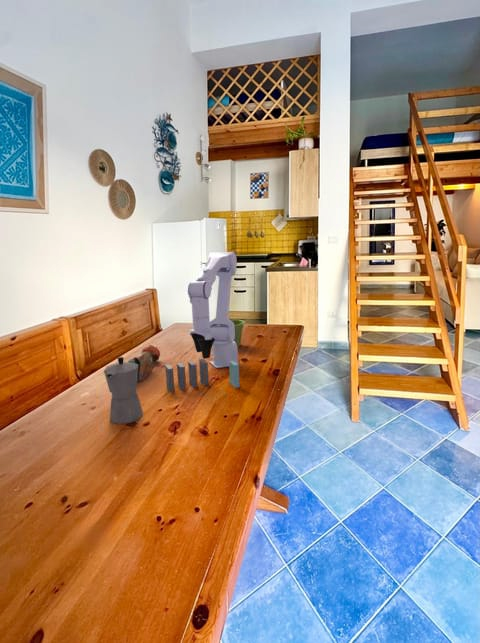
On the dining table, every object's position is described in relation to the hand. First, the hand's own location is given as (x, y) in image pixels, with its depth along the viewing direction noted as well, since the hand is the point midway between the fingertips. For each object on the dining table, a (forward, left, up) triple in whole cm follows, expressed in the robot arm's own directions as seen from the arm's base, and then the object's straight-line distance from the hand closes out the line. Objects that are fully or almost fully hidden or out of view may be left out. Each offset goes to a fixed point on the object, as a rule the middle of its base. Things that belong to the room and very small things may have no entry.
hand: (203, 354), depth 131 cm
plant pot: (-25, -35, -10) cm, 45 cm away
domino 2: (+8, +1, -10) cm, 13 cm away
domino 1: (+12, +1, -10) cm, 16 cm away
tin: (+19, -16, -10) cm, 27 cm away
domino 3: (+4, +1, -10) cm, 11 cm away
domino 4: (0, +1, -10) cm, 10 cm away
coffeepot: (+28, +14, -10) cm, 32 cm away
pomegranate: (+13, -30, -10) cm, 35 cm away
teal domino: (-8, +8, -10) cm, 15 cm away
